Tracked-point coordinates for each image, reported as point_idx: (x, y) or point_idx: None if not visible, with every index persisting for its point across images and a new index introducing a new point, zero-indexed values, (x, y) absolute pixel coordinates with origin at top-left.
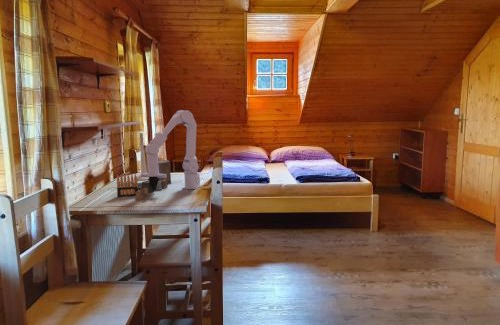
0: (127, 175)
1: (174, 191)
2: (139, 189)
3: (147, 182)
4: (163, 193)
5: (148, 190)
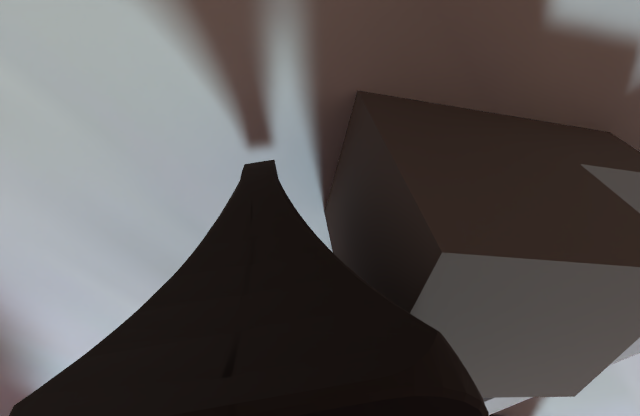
0: None
1: (54, 335)
2: (628, 155)
3: (492, 287)
4: (92, 202)
5: (373, 121)
